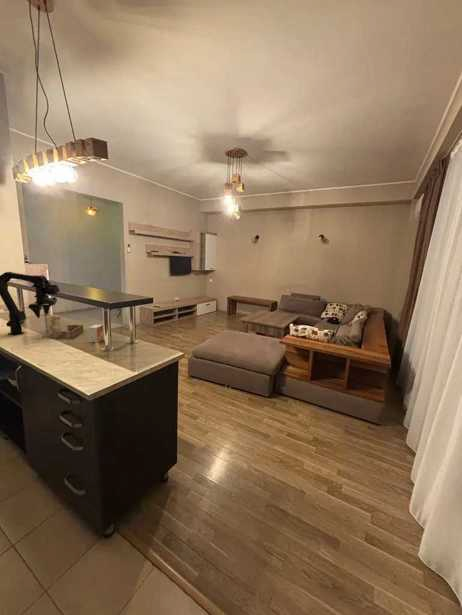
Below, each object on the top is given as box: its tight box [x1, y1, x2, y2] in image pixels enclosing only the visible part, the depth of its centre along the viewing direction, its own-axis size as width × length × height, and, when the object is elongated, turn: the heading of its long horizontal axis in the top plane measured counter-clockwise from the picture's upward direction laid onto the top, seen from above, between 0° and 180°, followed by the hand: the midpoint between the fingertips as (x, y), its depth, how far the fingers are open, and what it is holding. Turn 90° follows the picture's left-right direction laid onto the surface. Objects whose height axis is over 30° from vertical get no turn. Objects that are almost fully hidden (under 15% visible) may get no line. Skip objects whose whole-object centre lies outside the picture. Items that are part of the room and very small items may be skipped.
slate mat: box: [41, 332, 56, 338], centre depth 173 cm, size 11×12×1 cm
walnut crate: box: [55, 324, 84, 340], centre depth 174 cm, size 10×17×5 cm, turn 9°
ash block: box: [47, 314, 62, 335], centre depth 172 cm, size 5×5×13 cm
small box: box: [88, 324, 104, 344], centre depth 166 cm, size 8×6×10 cm
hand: (42, 316), depth 169 cm, fingers open, 9 cm apart
